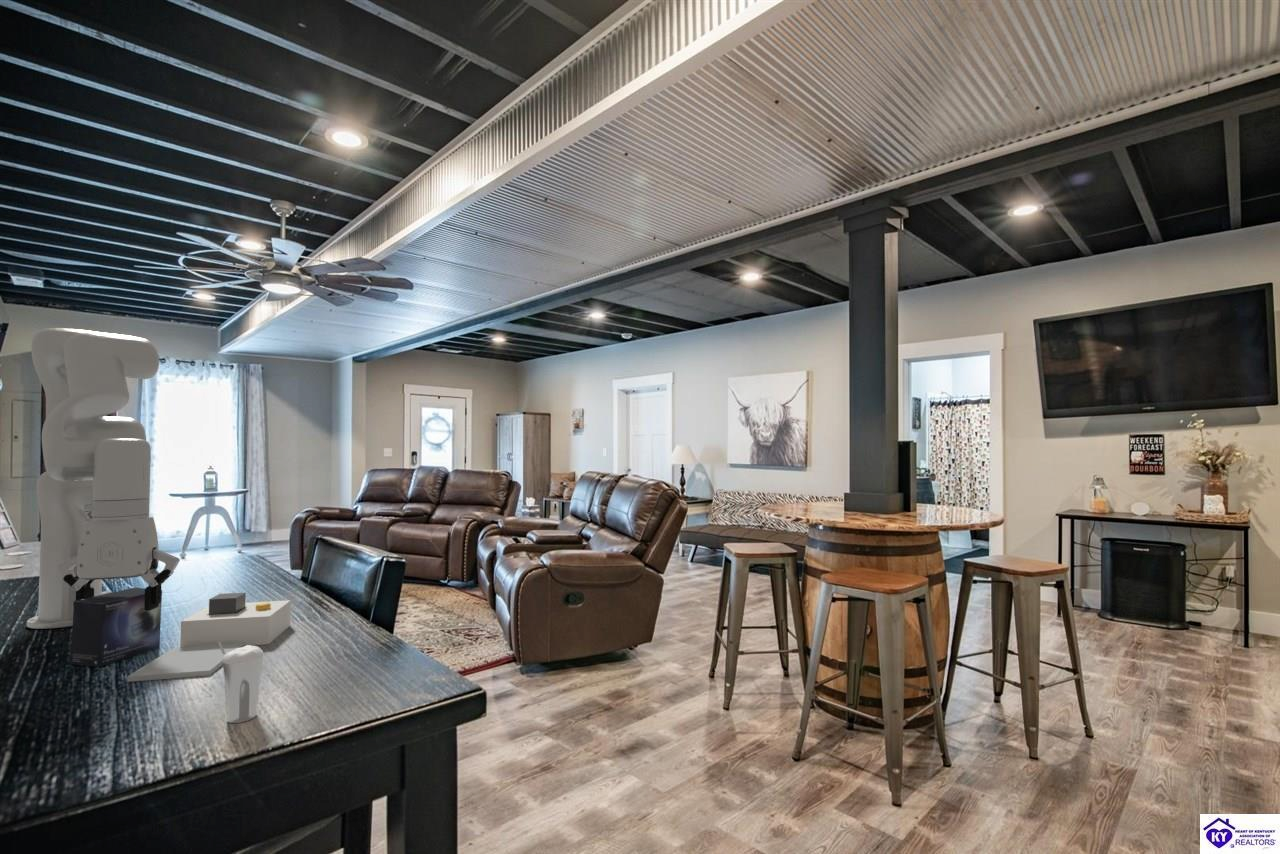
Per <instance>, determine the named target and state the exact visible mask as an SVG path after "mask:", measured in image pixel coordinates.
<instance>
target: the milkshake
mask: <svg viewBox="0 0 1280 854" xmlns="http://www.w3.org/2000/svg"><path fill="white" fill-rule="evenodd" d="M218 644H219V646H220V649H221V651H222V653H223V655H224V657H223V659H222V661H223V665H222V668H223V669H222V670H223V681H224V682H223V683H224V695H225V697H224V698H225V713H226V714H225V715H226V722H228V723H230V724H240V723H241V724H242V723H244V722H245V723H246V722H249V721H250V720H252V719H255V718H256V716H257V714H258V713H257V711H258V701H259V693H260V682H261V676H262V669H263V660H264V651H263V650H262V649H261V647H259V646H258V645H246V646H244V647H242V648H236V649H234V650H233V651H230V652H228V653H227V654H225V651H224V649H223V647H222V644H221V642H218Z"/></svg>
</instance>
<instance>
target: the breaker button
mask: <svg viewBox="0 0 1280 854" xmlns="http://www.w3.org/2000/svg"><path fill="white" fill-rule="evenodd" d="M246 596H247V595H246V592H232V593H231V592H230V593H218V594H217V595H215V596H213V597H211V598H210V599H209V600H208V606H209V615H218V614H236V613H239V612H240V611H242V610H243V609H245V603H246V598H247V597H246Z"/></svg>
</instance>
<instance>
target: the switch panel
mask: <svg viewBox="0 0 1280 854" xmlns="http://www.w3.org/2000/svg"><path fill="white" fill-rule="evenodd" d="M291 605H292V600H290V599H289V600H276V601H275V600H272V601H271V600H269V601H254V602H253V601H252V602H245V609H243V610H242V611H240V612H239V613H236V614H218V615H209V605H207V606H206V607H204V608H202V609H201V610H199V611H197V612H195V613H193V614H191V615H190V616H188V617H186V618H183V620H181V621H180V642H179V643H180V644H179V647H188V646H204V645H219V644H218V642H221V644H235V643H245V646H246V645H251V646H259V645H260V646H262V645H269V644H271V643H272V642H274V640H276V639H277V638H278V637H279V636H280V635H281V634H282V633H284V632H285V631H286V630H287V629H288V628H289V627H290V626H291V613H292V612H291V610H292V609H291V607H292V606H291Z"/></svg>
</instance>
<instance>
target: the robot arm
mask: <svg viewBox="0 0 1280 854" xmlns="http://www.w3.org/2000/svg"><path fill="white" fill-rule="evenodd" d="M30 346H31V351H30V352H31V359H32V363H33V366H34V370H35V371H36V372H35V373H36V374H37V377H38V380H39V381H40V383H41V385H42V387H43V391H44V393H45V394H44V395H45V420H44V423H43V425H42V430H41V446H42V456H43V464H44V468H45V471H44V472H43V473H42V474H41V475H39V477H38V478H37V481H36V487H35V488H36V490H35V491H36V492H35V493H36V497H37V498H36V499H37V503H38V509H39V517H40V545H39V546H40V551H39V552H40V554H39V574H38V575H39V576H38V578H39V581H38V605H37V606H38V609H37V612H38V613H37V614H38V615H35V616H33V617H31V618H29V619H27V620H26V627H27V628H29V629H34V630H35V629H36V630H38V629H39V630H40V629H41V630H42V629H44V630H45V629H46V630H47V629H60V628H68V627H73V611H74V605H73V602H74V601H75V600H79V599H84V598H89V597H94V596H98V595H103V594H107V593H110V592H109V591H103V590H102V589H103V580H112V579H133V578H139V577H140V578H141V579H142V580H143V581H144V582H146V584H147V585H148V586H146V587H144V588H145V605H144V609H145V610H146V611H150V610H152V609H155V608H157V607H158V606H159V603H160V602H161V590H162V585H163V584H164V583H165V582H166V581H167V580H168V579H169V578H170V577H171V576H172V575H173V573H174V570H176V568H177V566H178V565H179V563H180V561H181V560H180V558H179V557H178V556H177V557H176V556H174V555H172V554H170V553H167V552H165V551H162V550H161V549H159V539H158V531H157V528H156V527H157V525H156V522H155V518H154V516H150V503H151V501H150V495H151V492H150V491H151V490H150V489H151V462H152V461H151V460H152V453H151V451H152V450H151V445H150V442H149V441H147V435H146V431H145V427H144V426H143V424H142V423H141V422H140V421H139V420H138V419H135V418H133V417H129V416H114V415H113V416H111V414H114V413H116V412H118V411H120V410H123V408H124V407H126V406H127V404H128V403H129V400H130V392H129V389H128V382H127V379H141V380H149V379H152V378H153V377H154V376H155V375H156V374H157V373H158V370H159V366H160V358H159V353H158V350H157V347H156V345H154V343H153V342H152V341H151V340H149V339H148V338H144V337H143V338H142V337H140V336H133V335H128V334H118V333H109V332H101V331H95V330H94V331H93V330H86V329H78V328H76V329H75V328H67V327H66V328H64V327H52V328H51V327H50V328H49V327H47V328H43V329H41V330H38V331H36V333H35V334H34V335H33V337H32V339H31V345H30ZM108 415H110V416H108ZM88 513H89V514H90V516H89V514H88ZM90 517H91V518H90ZM159 561H160V562H161V563H164V564H165V566H164V568H163V570H162V571H160V572H159V571H158V570H157V569H158V567H159Z"/></svg>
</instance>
